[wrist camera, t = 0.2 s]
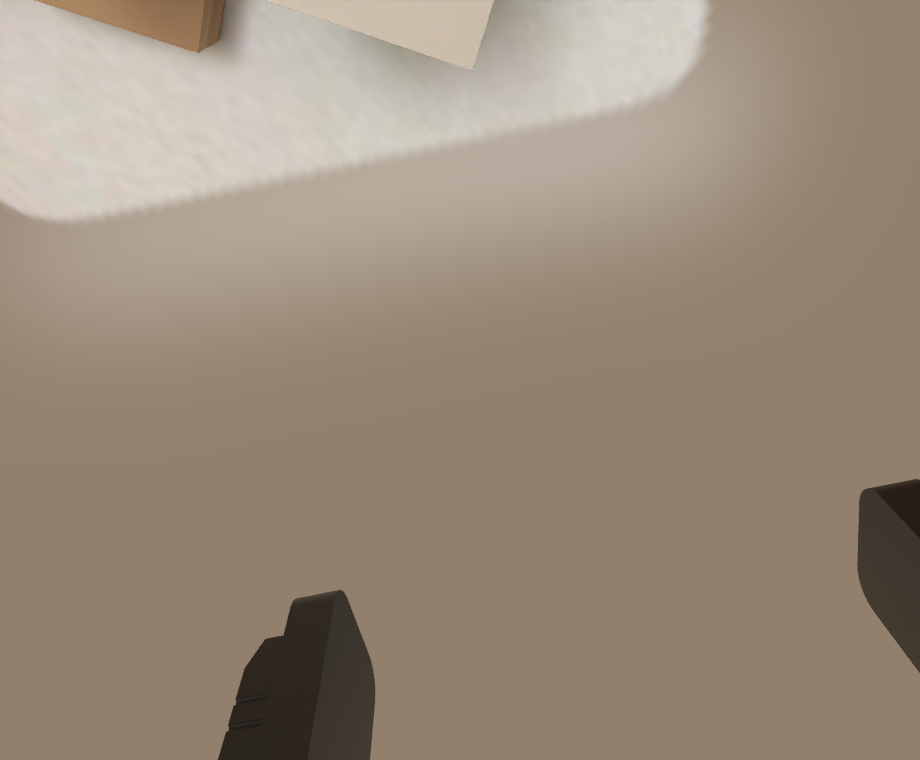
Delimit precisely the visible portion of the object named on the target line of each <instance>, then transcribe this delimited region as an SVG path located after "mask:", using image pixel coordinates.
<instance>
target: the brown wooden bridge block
mask: <svg viewBox="0 0 920 760" xmlns="http://www.w3.org/2000/svg"><path fill="white" fill-rule="evenodd" d="M36 1H39V2H42V3H45V4H48V5H51V6H54V7H57V8H60V9H64V10H67V11H70V12H73V13H76V14H79V15H82V16H85V17H88V18H92V19H95V20H98V21H101V22H104V23H107V24H110V25H113V26H116V27H120V28H123V29H126V30H129V31H132V32H135V33H138V34H141V35H144V36H148V37H151V38H154V39H157V40H160V41H163V42H166V43H169V44H172V45H176V46H179V47H182V48H185V49H188V50H191V51H194V52H197V53H199V52H200V51H202V50H204V49H205V48H207V47H209V46H210V45H212V44H213V43H215V42H217V41H218V40H219V38H220V31H221V23H222V16H223V9H224V1H225V0H36Z"/></svg>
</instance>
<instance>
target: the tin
mask: <svg viewBox="0 0 920 760" xmlns="http://www.w3.org/2000/svg"><path fill="white" fill-rule="evenodd" d="M267 1H269V2H272V3H275V4H278V5H281V6H284V7H287V8H290V9H293V10H296V11H299V12H302V13H305V14H307V15H310V16H313V17H316V18H319V19H322V20H325V21H328V22H331V23H334V24H337V25H340V26H343V27H345V28H348V29H351V30H354V31H357V32H360V33H363V34H366V35H369V36H372V37H375V38H378V39H381V40H383V41H386V42H389V43H392V44H395V45H398V46H401V47H404V48H407V49H410V50H413V51H416V52H419V53H421V54H424V55H427V56H430V57H433V58H436V59H439V60H442V61H445V62H448V63H451V64H454V65H457V66H459V67H462V68H465V69H468V70H471V71H472V70H473V67H474V64H475V61H476V57H477V54H478V51H479V48H480V45H481V41H482V38H483V35H484V32H485V28H486V25H487V22H488V19H489V16H490V12H491V9H492V6H493V3H494V0H267Z"/></svg>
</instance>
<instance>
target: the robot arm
mask: <svg viewBox="0 0 920 760" xmlns="http://www.w3.org/2000/svg"><path fill="white" fill-rule="evenodd" d="M857 565H858V575H859V580H860V584H861V587H862V590H863V592H864V595H865V597H866V599H867V601H868V603H869V605H870V606H871V608H872V609H873V611H874V612H875V613H876V615H877V616H878V618H879V619H880V620H881V621H882V623H883V624H884V626H885V627H886V628H887V630H888V631H889V632H890V634H891V635H892V636H893V637H894V639H895V640H896V642H897V643H898V644H899V646H900V647H901V648H902V650H903V651H904V652H905V654H906V655H907V656H908V658H909V659H910V660H911V662H912V663H913V664H914V666H915V667H916V668H917V670H918V671H919V672H920V480H919V479H914V480H909V481H904V482H899V483H894V484H889V485H883V486H878V487H873V488H868V489H865V490H863V491H862V493H861V496H860V501H859V531H858V564H857ZM374 706H375V681H374V673H373V668H372V663H371V660H370V656H369V654H368V651H367V648H366V646H365V643H364V641H363V638H362V635H361V633H360V630H359V628H358V625H357V622H356V620H355V617H354V614H353V612H352V609H351V607H350V604H349V602H348V599H347V597H346V595H345V593H344V592H343V591H342V590H337V591H332V592H327V593H322V594H317V595H312V596H307V597H302V598H297V599H295V600H294V601H293V602H292V605H291V607H290V612H289V615H288V620H287V624H286V628H285V632H284V636H278V637H273V638H268V639H265V640H264V642H263V643H262V645H261V646H260V647H259V649H258V650H257V652H256V653H255V654H254V656H253V657H252V659H251V660H250V662H249V663H248V665H247V666H246V667H245V669H244V673H243V676H242V679H241V683H240V686H239V690H238V693H237V696H236V705H234V707H233V710H232V714H231V717H230V720H229V724H228V726H229V731H228V732H226V734H225V737H224V741H223V744H222V748H221V751H220V755H219V758H218V760H370V751H371V741H372V729H373V718H374Z"/></svg>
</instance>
